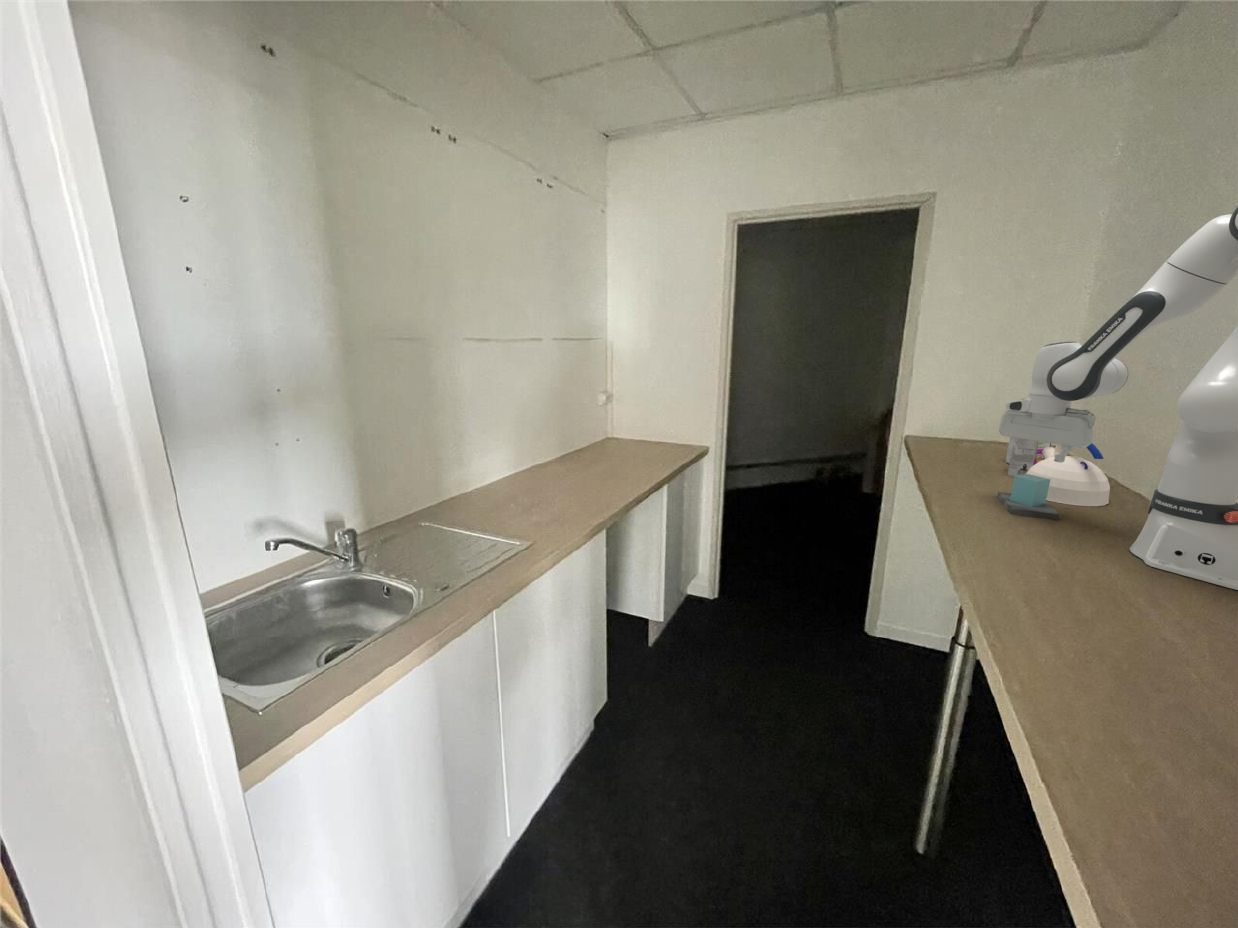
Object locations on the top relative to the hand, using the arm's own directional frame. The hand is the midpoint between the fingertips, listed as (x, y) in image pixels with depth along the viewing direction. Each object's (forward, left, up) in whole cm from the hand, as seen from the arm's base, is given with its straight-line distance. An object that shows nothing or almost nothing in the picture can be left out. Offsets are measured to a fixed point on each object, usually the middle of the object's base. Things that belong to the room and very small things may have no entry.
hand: (1038, 458), depth 138 cm
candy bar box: (+30, -49, -14) cm, 59 cm away
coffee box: (+23, -34, -14) cm, 43 cm away
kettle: (+4, -22, -14) cm, 27 cm away
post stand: (+1, 0, -14) cm, 14 cm away
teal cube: (0, 0, -13) cm, 13 cm away
